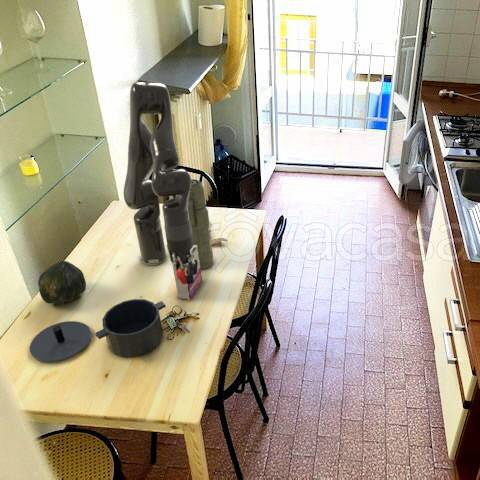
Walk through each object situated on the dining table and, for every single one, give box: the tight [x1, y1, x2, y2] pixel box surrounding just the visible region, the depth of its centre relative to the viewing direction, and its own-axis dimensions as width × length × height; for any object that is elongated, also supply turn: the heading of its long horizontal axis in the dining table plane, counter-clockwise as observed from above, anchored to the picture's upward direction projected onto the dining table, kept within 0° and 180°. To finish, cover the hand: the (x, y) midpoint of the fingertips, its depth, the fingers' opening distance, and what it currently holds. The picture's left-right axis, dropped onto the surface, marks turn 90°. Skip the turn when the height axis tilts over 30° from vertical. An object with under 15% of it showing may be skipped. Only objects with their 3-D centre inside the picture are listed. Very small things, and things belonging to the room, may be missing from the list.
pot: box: [94, 298, 167, 359], centre depth 160 cm, size 17×22×10 cm
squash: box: [37, 260, 87, 306], centre depth 176 cm, size 14×15×15 cm
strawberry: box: [176, 264, 188, 284], centre depth 158 cm, size 5×5×6 cm
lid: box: [29, 320, 92, 363], centre depth 159 cm, size 18×18×6 cm
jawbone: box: [208, 221, 229, 246], centre depth 214 cm, size 9×20×2 cm, turn 33°
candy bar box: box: [171, 245, 203, 301], centre depth 180 cm, size 11×5×16 cm, turn 168°
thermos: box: [188, 178, 214, 271], centre depth 188 cm, size 9×12×35 cm
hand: (185, 279), depth 159 cm, fingers closed on strawberry, 5 cm apart
